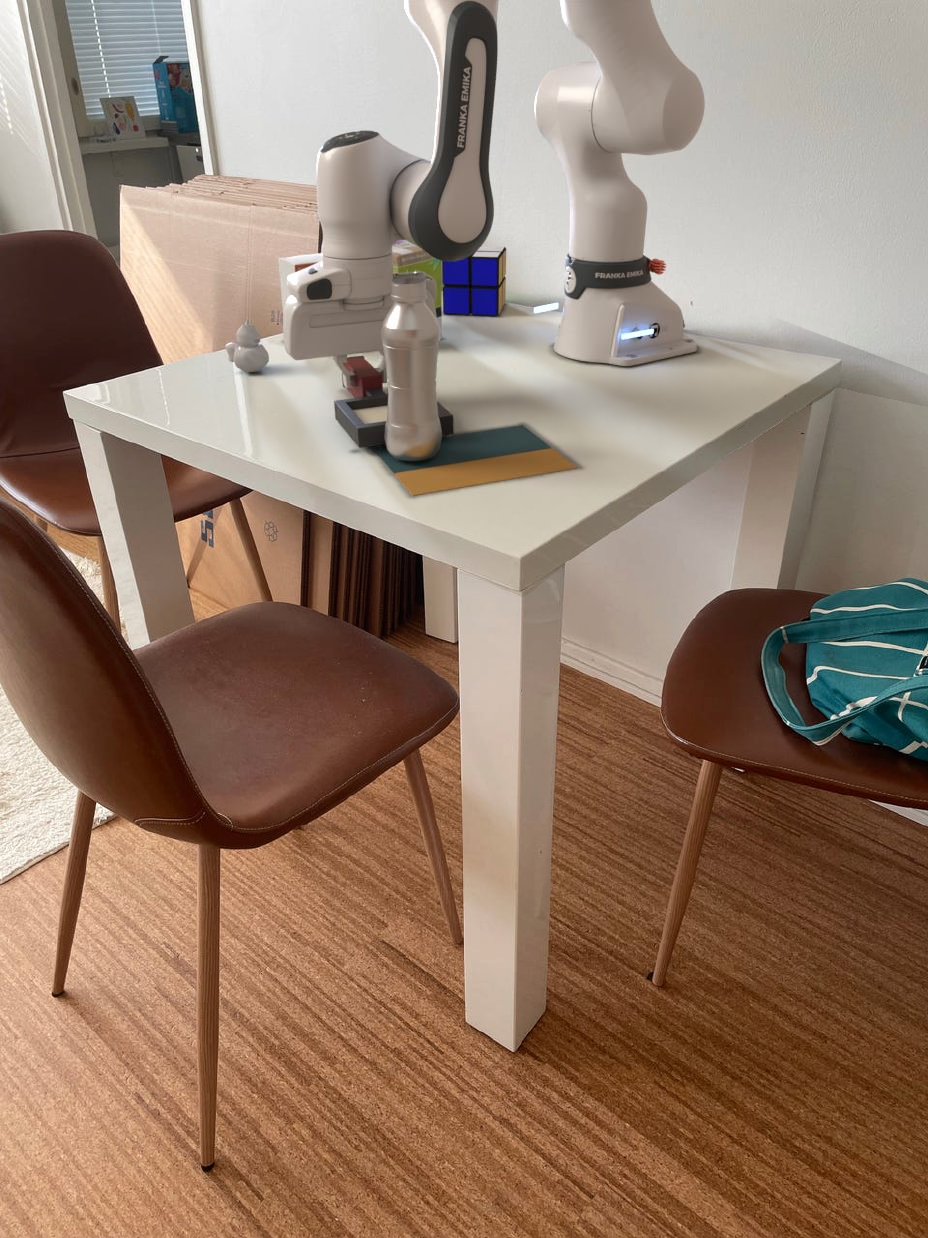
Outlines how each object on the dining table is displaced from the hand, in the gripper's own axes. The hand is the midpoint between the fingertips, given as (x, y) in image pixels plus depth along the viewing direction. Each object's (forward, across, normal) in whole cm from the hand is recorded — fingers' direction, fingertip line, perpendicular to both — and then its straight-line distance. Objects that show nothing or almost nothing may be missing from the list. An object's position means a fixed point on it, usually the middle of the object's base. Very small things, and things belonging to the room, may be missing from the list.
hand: (365, 384), depth 125 cm
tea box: (+3, -13, -30) cm, 33 cm away
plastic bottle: (+3, 0, +21) cm, 21 cm away
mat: (+3, -6, +23) cm, 24 cm away
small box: (+3, -1, -32) cm, 32 cm away
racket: (+2, 0, +6) cm, 6 cm away
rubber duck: (+3, +12, -21) cm, 24 cm away
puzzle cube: (+3, -33, -42) cm, 53 cm away
